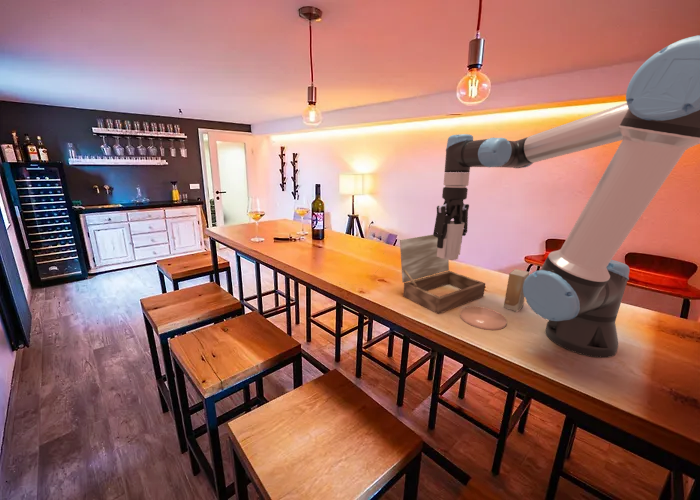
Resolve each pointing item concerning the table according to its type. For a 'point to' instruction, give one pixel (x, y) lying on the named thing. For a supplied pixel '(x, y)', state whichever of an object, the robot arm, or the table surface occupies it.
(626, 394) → the table surface
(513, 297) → the skincare box
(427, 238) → the hinged wooden box
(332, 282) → the table surface
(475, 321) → the saucer
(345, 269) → the table surface
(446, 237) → the cup
